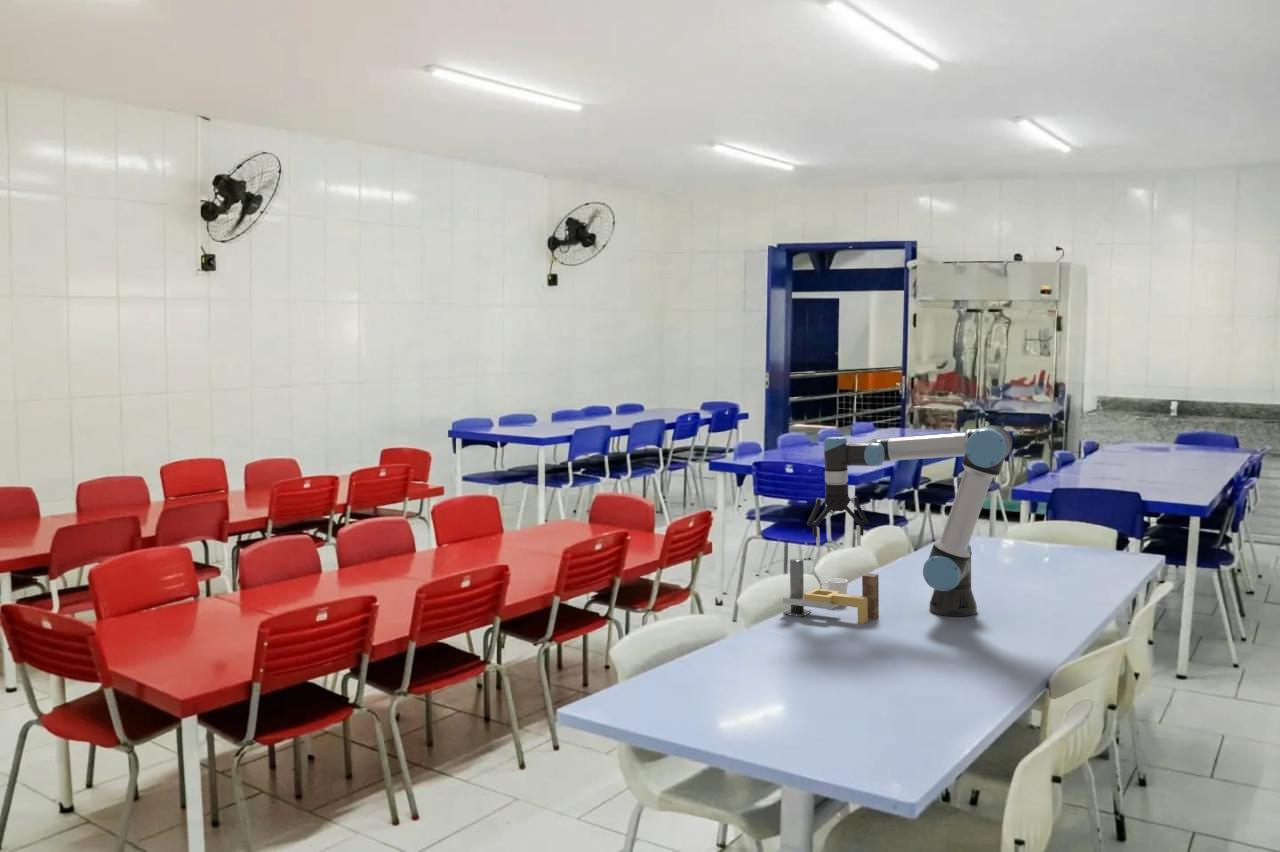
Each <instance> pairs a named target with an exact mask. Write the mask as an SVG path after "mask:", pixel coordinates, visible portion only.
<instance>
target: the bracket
mask: <svg viewBox="0 0 1280 852" xmlns="http://www.w3.org/2000/svg"><path fill="white" fill-rule="evenodd" d="M804 593H805V594H804V600H806V601H815V602H823V603H831V602H834V605H838V606H841V607H842V606H843V607H850V608H857V623H858V624H863V625H864V624H866V623H868V620H869V619H868V599H867V597H865V596H862V595H855V594H847V593H846V594H840V591H832V590H829V589H820V588H813V589H811V590H808V591H807V592H804Z"/></svg>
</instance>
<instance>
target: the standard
mask: <svg viewBox="0 0 1280 852" xmlns="http://www.w3.org/2000/svg"><path fill="white" fill-rule="evenodd" d="M789 574H790V575H789V576H790V578H789V579H790V581H789V582H790V583H789V585H790V586H789V588H790V594H787V595H786V596H784V597H782V604H784V605H789V606H790V608H788V609H786V610H785V611H783V612H782V613H783V614H791V615H797V616H796V617H798V616H804V615H805V614H807V613H808V612H810V611H811V612H812V609H806V608H805V607H807V608H808V607H809V608H815V609H822V610H834V608H836V607H838V606H839V605H834V602H831V603H823V602H815V601H806V600H804V594H805V593H806V592H805V591H804V589H805V588H804V584H805V583H804V581H805V580H804V578H805V577H804V559H800V558H792V559H790V560H789ZM783 614H782V615H783ZM807 615H808V614H807ZM804 617H805V616H804Z"/></svg>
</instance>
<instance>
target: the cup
mask: <svg viewBox="0 0 1280 852" xmlns="http://www.w3.org/2000/svg"><path fill="white" fill-rule="evenodd" d="M848 584H849V580H848V579H846V578H840V577H838V578H837V577H836V578H835V577H834V578H830V579H827V582H825V581H824V582H822V583H821V584H820V586H819V589H821V588H822V586H823V585H828V590H832V591H840V594H847V593H848Z"/></svg>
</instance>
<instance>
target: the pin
mask: <svg viewBox="0 0 1280 852" xmlns="http://www.w3.org/2000/svg"><path fill="white" fill-rule="evenodd" d="M861 576H862V578H861V579H862V580H861V581H862V582H861V583H862V584H861V585H862V586H861V587H862V589H861V590H862V591H861V592H862V593H861V594H862V595H861V596H865V597H867V599H868V620H869V619H870V620H876V619H877V618H879V614H880V611H879V609H880V608H879V606H880V605H879V603H880V602H879V601H880V600H879V597H880V595H879V591H880V590H879V584H880V583H879V582H880V581H879V574H877V573H869V572H868V573H864V574H863V575H861Z"/></svg>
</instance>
